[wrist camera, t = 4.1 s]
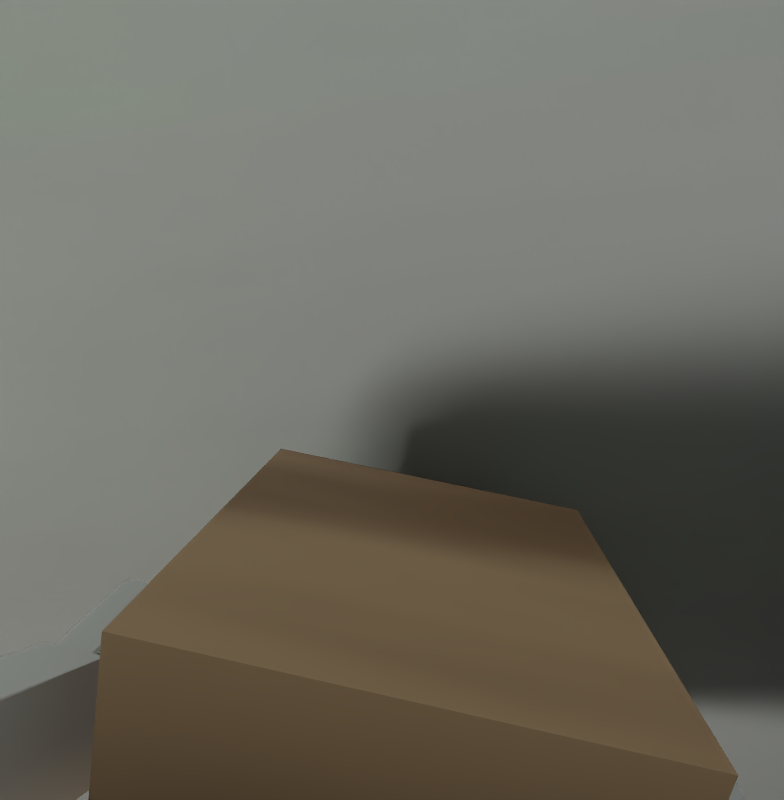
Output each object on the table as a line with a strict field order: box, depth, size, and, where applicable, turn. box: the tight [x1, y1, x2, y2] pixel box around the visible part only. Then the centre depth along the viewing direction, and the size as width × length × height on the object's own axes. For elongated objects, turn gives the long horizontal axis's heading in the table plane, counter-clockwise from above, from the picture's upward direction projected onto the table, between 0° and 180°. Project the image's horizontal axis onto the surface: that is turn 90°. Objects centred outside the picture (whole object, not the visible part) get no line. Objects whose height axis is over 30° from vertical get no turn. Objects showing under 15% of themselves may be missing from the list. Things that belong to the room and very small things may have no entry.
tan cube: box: [89, 449, 738, 800], centre depth 7 cm, size 5×5×5 cm
